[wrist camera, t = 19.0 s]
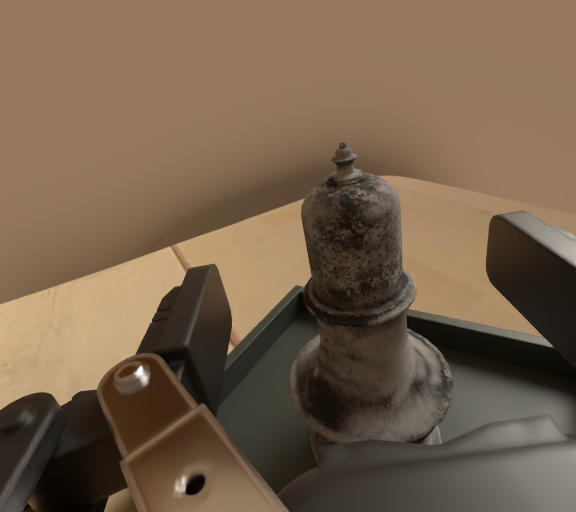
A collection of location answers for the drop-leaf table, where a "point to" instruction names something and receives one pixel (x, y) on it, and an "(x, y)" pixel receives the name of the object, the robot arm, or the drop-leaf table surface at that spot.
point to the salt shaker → (363, 321)
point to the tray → (436, 329)
